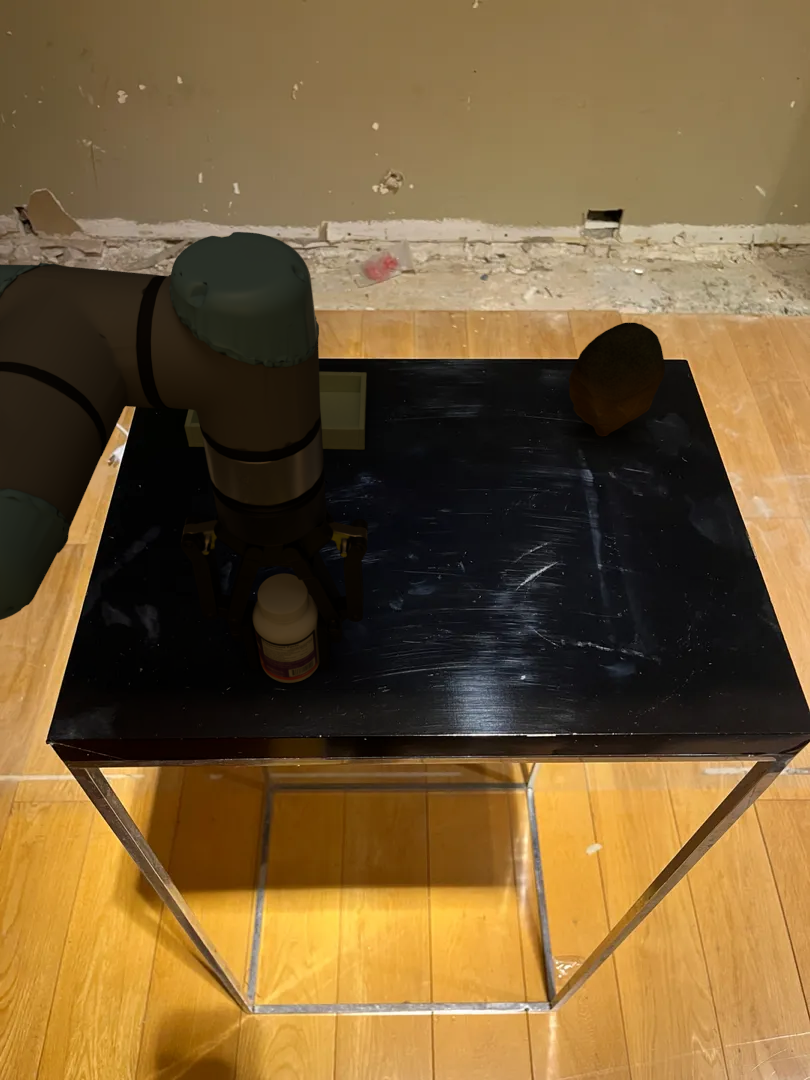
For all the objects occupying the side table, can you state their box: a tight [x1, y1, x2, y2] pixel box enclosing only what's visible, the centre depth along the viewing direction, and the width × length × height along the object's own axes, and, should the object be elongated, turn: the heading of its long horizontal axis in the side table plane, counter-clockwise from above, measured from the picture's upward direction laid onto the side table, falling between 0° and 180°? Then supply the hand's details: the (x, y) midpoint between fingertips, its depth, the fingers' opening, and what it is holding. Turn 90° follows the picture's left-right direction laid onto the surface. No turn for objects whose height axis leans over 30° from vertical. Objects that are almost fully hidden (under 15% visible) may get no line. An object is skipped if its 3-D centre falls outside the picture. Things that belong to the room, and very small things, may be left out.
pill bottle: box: [253, 573, 320, 684], centre depth 69 cm, size 5×5×10 cm
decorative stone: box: [568, 322, 666, 437], centre depth 88 cm, size 10×6×15 cm, turn 90°
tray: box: [184, 371, 368, 451], centre depth 93 cm, size 19×10×3 cm, turn 90°
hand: (290, 656), depth 73 cm, fingers closed on pill bottle, 5 cm apart
